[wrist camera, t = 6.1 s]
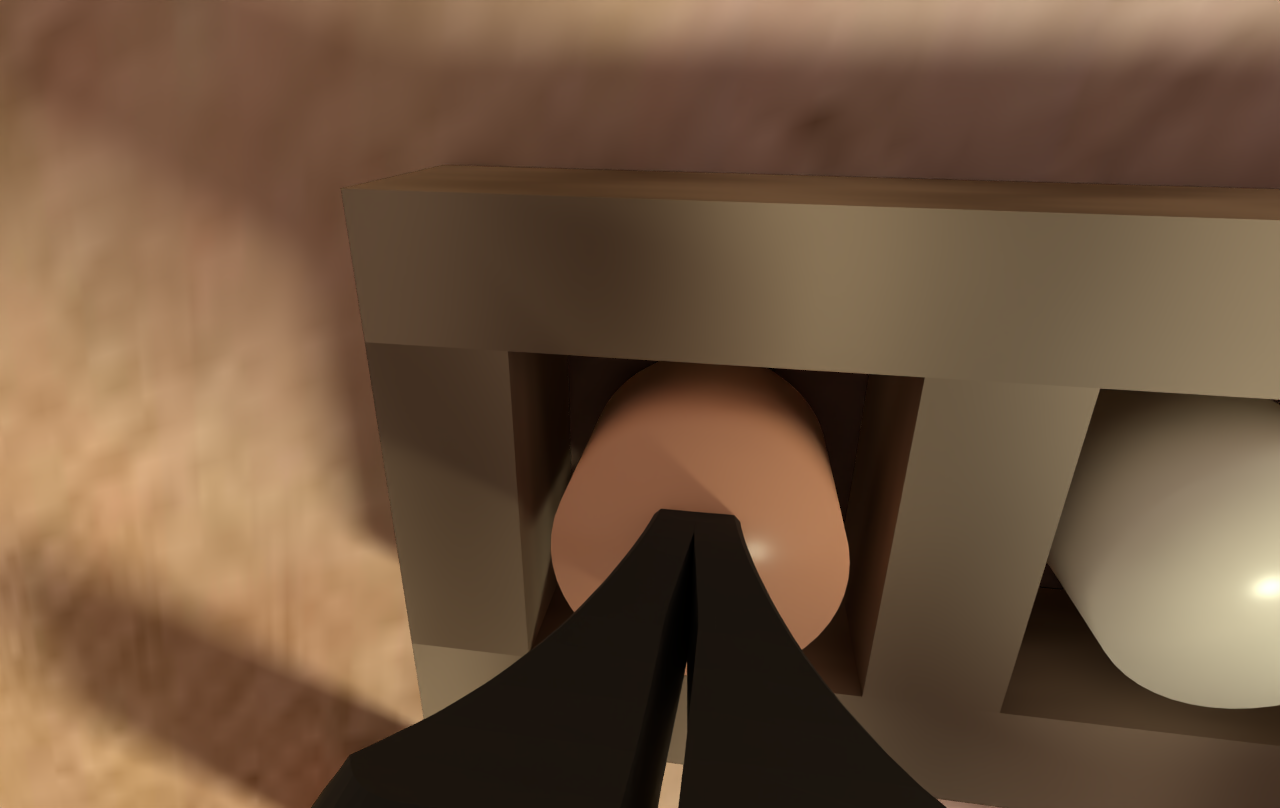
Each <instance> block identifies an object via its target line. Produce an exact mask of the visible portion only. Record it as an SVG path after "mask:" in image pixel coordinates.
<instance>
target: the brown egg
mask: <svg viewBox="0 0 1280 808" xmlns="http://www.w3.org/2000/svg"><path fill="white" fill-rule="evenodd" d="M660 509H671V510H682V511H693V512H704V513H716V514H728V515H735V516H736V517H737V519H738V520H739V521H740V522H741V528H742V532H743V535H744V539H745V542H746V544H747V547H748V550H749V552H750V555H751V557H752V560H753V562H754V565H755V567H756V569H757V571H758V573H759V576H760V578H761V580H762V582H763V584H764V586H765V588H766V590H767V592H768V594H769V595H770V597H771V599H772V601H773V603H774V605H775V607H776V609H777V610H778V612H779V614H780V616H781V617H782V619H783V621H784V622H785V624H786V626H787V627H788V629H789V631H790V632H791V634H792V636H793V637H794V639H795V640H796V642H797V643H798V645H799V646H800V648H801V649H803V648H805V647H806V646H807V645H808V644H810V643H811V642H812V641H813V640H814V639H815V638H816V637H818V636H819V635H820V633H821V632H822V631H823V630H824V629H825V628H826V626H827V625H828V624H829V623H830V621H831V620H832V618H833V617H834V615H835V613H836V612H837V610H838V608H839V606H840V604H841V601H842V599H843V597H844V594H845V590H846V586H847V582H848V578H849V566H850V559H849V546H848V541H847V537H846V532H845V528H844V523H843V519H842V514H841V510H840V505H839V501H838V496H837V492H836V488H835V483H834V479H833V474H832V470H831V465H830V461H829V456H828V452H827V447H826V443H825V439H824V435H823V431H822V429H821V426H820V424H819V421H818V419H817V417H816V415H815V414H814V412H813V410H812V409H811V407H810V405H809V404H808V403H807V401H806V400H805V399H804V398H803V396H802V395H801V394H800V393H799V392H798V391H797V390H796V389H795V388H794V387H793V386H792V385H791V384H790V383H788V382H787V381H786V380H784V379H783V378H782V377H780V376H779V375H777V374H776V373H774V372H772V371H771V370H769V369H767V368H765V367H751V366H735V365H719V364H704V363H688V362H672V361H660V362H658V363H655V364H653V365H650V366H649V367H647V368H645V369H643V370H642V371H640V372H638V373H637V374H635V375H634V376H633V377H631V378H630V379H629V380H627V381H626V382H625V383H624V384H623V385H622V386H621V387H620V388H619V389H618V390H617V391H616V392H615V393H614V394H613V396H612V397H611V398H610V400H609V401H608V402H607V404H606V406H605V408H604V409H603V411H602V413H601V415H600V417H599V419H598V421H597V423H596V426H595V428H594V430H593V432H592V434H591V436H590V439H589V441H588V443H587V445H586V447H585V449H584V452H583V454H582V456H581V458H580V460H579V462H578V465H577V467H576V469H575V471H574V473H573V475H572V478H571V480H570V482H569V484H568V486H567V488H566V491H565V493H564V495H563V497H562V499H561V501H560V504H559V506H558V509H557V512H556V515H555V518H554V522H553V527H552V533H551V555H552V563H553V568H554V572H555V575H556V579H557V582H558V584H559V586H560V589H561V591H562V593H563V595H564V597H565V599H566V600H567V602H568V604H569V605H570V607H571V609H572V610H573V611H574V612H575V611H576V610H577V609H578V608H579V607H580V606H581V605H582V604H583V603H584V602H585V601H586V600H587V599H588V598H589V597H590V596H591V594H592V593H593V592H594V591H595V590H596V589H597V588H598V587H599V586H600V585H601V584H602V583H603V582H604V581H605V580H606V578H607V577H608V576H609V575H610V574H611V573H612V571H613V570H614V569H615V568H616V566H617V565H618V564H619V563H620V562H621V560H622V559H623V558H624V557H625V556H626V554H627V553H628V552H629V551H630V549H631V548H632V546H633V545H634V544H635V542H636V541H637V540H638V538H639V537H640V536H641V534H642V533H643V531H644V530H645V528H646V527H647V525H648V524H649V522H650V520H651V519H652V517H653V515H654V514H655V513H656V512H657V511H659V510H660ZM684 675H687V664H686V669H685V674H684Z"/></svg>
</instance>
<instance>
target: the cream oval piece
mask: <svg viewBox="0 0 1280 808" xmlns="http://www.w3.org/2000/svg"><path fill="white" fill-rule="evenodd" d="M1047 563H1048V564H1049V566H1050V567H1051V569H1052V570H1053V572H1054V574H1055V575H1056V577H1057V578H1058V580H1059V581H1060V583H1061V585H1062V586H1063V588H1064V589H1065V591H1066V592H1067V594H1068V595H1069V597H1070V599H1071V600H1072V602H1073V603H1074V605H1075V606H1076V608H1077V609H1078V611H1079V613H1080V614H1081V616H1082V617H1083V619H1084V620H1085V622H1086V624H1087V625H1088V627H1089V628H1090V630H1091V631H1092V633H1093V634H1094V636H1095V638H1096V639H1097V641H1098V642H1099V644H1100V645H1101V647H1102V648H1103V650H1104V652H1105V653H1106V654H1107V656H1108V657H1109V658H1110V660H1111V661H1112V662H1113V664H1114V665H1115V666H1116V667H1117V668H1119V669H1120V670H1121V671H1122V672H1123V673H1124V674H1125V675H1126V676H1127V677H1129V678H1130V679H1132V680H1133V681H1135V682H1136V683H1137V684H1139V685H1141V686H1143V687H1144V688H1146V689H1148V690H1150V691H1152V692H1154V693H1156V694H1159V695H1162V696H1164V697H1167V698H1170V699H1172V700H1176V701H1180V702H1184V703H1188V704H1192V705H1199V706H1205V707H1213V708H1228V709H1241V708H1260V707H1269V706H1277V705H1280V405H1279V404H1278V403H1276V402H1274V401H1272V400H1271V399H1261V398H1246V397H1230V396H1214V395H1198V394H1182V393H1166V392H1150V391H1134V390H1118V389H1102V388H1101V389H1100V391H1099V394H1098V397H1097V400H1096V403H1095V407H1094V410H1093V413H1092V416H1091V420H1090V423H1089V426H1088V429H1087V433H1086V436H1085V439H1084V442H1083V445H1082V449H1081V452H1080V455H1079V458H1078V462H1077V465H1076V468H1075V471H1074V475H1073V478H1072V481H1071V484H1070V487H1069V491H1068V494H1067V497H1066V500H1065V504H1064V507H1063V510H1062V513H1061V517H1060V520H1059V523H1058V526H1057V530H1056V533H1055V536H1054V539H1053V542H1052V546H1051V549H1050V552H1049V555H1048V559H1047Z"/></svg>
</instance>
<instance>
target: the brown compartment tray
mask: <svg viewBox="0 0 1280 808" xmlns="http://www.w3.org/2000/svg"><path fill="white" fill-rule="evenodd" d="M341 193H342V199H343V206H344V212H345V218H346V225H347V231H348V237H349V244H350V250H351V257H352V263H353V269H354V276H355V282H356V289H357V295H358V301H359V308H360V314H361V321H362V327H363V333H364V340H365V346H366V352H367V359H368V365H369V372H370V378H371V384H372V391H373V397H374V404H375V410H376V416H377V423H378V429H379V436H380V442H381V448H382V455H383V461H384V468H385V474H386V480H387V487H388V493H389V499H390V506H391V512H392V519H393V525H394V531H395V538H396V544H397V551H398V557H399V563H400V570H401V576H402V583H403V589H404V595H405V602H406V608H407V614H408V621H409V627H410V634H411V640H412V646H413V653H414V659H415V666H416V672H417V678H418V685H419V691H420V698H421V704H422V710H423V717H424V719H426V718H427V717H429V716H431V715H433V714H435V713H437V712H438V711H440V710H442V709H444V708H445V707H447V706H449V705H451V704H452V703H454V702H456V701H457V700H459V699H461V698H462V697H464V696H466V695H467V694H469V693H470V692H472V691H474V690H475V689H477V688H479V687H480V686H482V685H483V684H485V683H486V682H488V681H489V680H491V679H492V678H494V677H495V676H497V675H498V674H500V673H501V672H502V671H504V670H505V669H507V668H508V667H509V666H511V665H512V664H513V663H514V662H516V661H517V660H518V659H520V658H521V657H522V656H524V655H525V654H526V653H528V652H529V651H530V650H532V649H533V648H534V647H535V646H537V645H538V644H539V643H540V642H542V641H543V640H544V639H545V638H546V637H547V636H549V635H550V634H551V633H552V632H553V631H554V630H556V629H557V628H558V627H559V626H560V625H561V624H562V623H563V622H564V621H566V620H567V619H568V618H569V617H570V616H571V615H572V614H573V613H574V611H573V610H572V609H571V607H570V605H569V604H568V602H567V600H566V599H565V597H564V595H563V593H562V591H561V589H560V586H559V584H558V582H557V579H556V575H555V572H554V568H553V563H552V555H551V533H552V527H553V522H554V518H555V515H556V512H557V509H558V506H559V504H560V501H561V499H562V497H563V495H564V493H565V491H566V488H567V486H568V484H569V482H570V480H571V448H570V416H569V383H568V355H576V356H592V357H608V358H624V359H640V360H656V361H672V362H688V363H704V364H719V365H735V366H751V367H767V368H783V369H799V370H815V371H831V372H847V373H863V374H869V377H868V383H867V389H866V396H865V402H864V408H863V414H862V421H861V427H860V433H859V439H858V446H857V452H856V458H855V464H854V471H853V477H852V483H851V489H850V496H849V502H848V508H847V514H846V521H845V527H844V528H845V532H846V537H847V541H848V546H849V559H850V566H849V578H848V582H847V586H846V590H845V594H844V597H843V599H842V601H841V604H840V606H839V608H838V610H837V612H836V613H835V615H834V617H833V618H832V620H831V621H830V623H829V624H828V625H827V626H826V628H825V629H824V630H823V631H822V632H821V633H820V635H819V636H818V637H816V638H815V639H814V640H813V641H812V642H811V643H810V644H808V645H807V646H806V647H805V648H803V649H802V651H803V652H804V654H805V655H806V657H807V658H808V660H809V661H810V662H811V664H812V665H813V666H814V668H815V669H816V671H817V672H818V673H819V675H820V676H821V677H822V679H823V680H824V681H825V683H826V684H827V685H828V686H829V688H830V689H831V690H832V692H833V693H834V694H835V695H836V697H837V698H838V699H839V700H840V702H841V703H842V704H843V705H844V706H845V708H846V709H847V710H848V711H849V712H850V713H851V714H852V716H853V717H854V718H855V719H856V720H857V721H858V722H859V723H860V724H861V725H862V726H863V728H864V729H865V730H866V731H867V732H868V733H869V734H870V735H871V736H872V737H873V739H874V740H875V741H876V742H877V743H878V744H879V745H880V746H881V747H882V748H883V750H884V751H885V752H886V753H887V754H888V755H889V756H890V757H891V758H892V759H893V760H894V761H895V762H896V763H897V764H898V765H899V766H900V767H902V768H903V769H904V770H905V771H906V772H907V773H908V774H909V775H910V776H911V777H912V778H913V779H914V780H915V781H916V782H917V783H918V784H919V785H920V786H922V787H923V788H924V789H925V790H926V791H927V792H929V793H930V794H931V795H932V796H933V797H934V798H936V799H943V800H951V801H958V802H965V803H973V804H980V805H988V806H995V807H1003V808H1280V705H1277V706H1269V707H1260V708H1241V709H1228V708H1213V707H1205V706H1199V705H1192V704H1188V703H1184V702H1180V701H1176V700H1172V699H1170V698H1167V697H1164V696H1162V695H1159V694H1156V693H1154V692H1152V691H1150V690H1148V689H1146V688H1144V687H1143V686H1141V685H1139V684H1137V683H1136V682H1135V681H1133V680H1132V679H1130V678H1129V677H1127V676H1126V675H1125V674H1124V673H1123V672H1122V671H1121V670H1120V669H1119V668H1117V667H1116V666H1115V665H1114V664H1113V662H1112V661H1111V660H1110V658H1109V657H1108V656H1107V654H1106V653H1105V652H1104V650H1103V648H1102V647H1101V645H1100V644H1099V642H1098V641H1097V639H1096V638H1095V636H1094V634H1093V633H1092V631H1091V630H1090V628H1089V627H1088V625H1087V624H1086V622H1085V620H1084V619H1083V617H1082V616H1081V614H1080V613H1079V611H1078V609H1077V608H1076V606H1075V605H1074V603H1073V602H1072V600H1071V599H1070V597H1069V595H1068V594H1067V592H1066V591H1065V590H1059V589H1049V588H1039V584H1040V581H1041V578H1042V575H1043V572H1044V568H1045V565H1046V562H1047V559H1048V555H1049V552H1050V549H1051V546H1052V542H1053V539H1054V536H1055V533H1056V530H1057V526H1058V523H1059V520H1060V517H1061V513H1062V510H1063V507H1064V504H1065V500H1066V497H1067V494H1068V491H1069V487H1070V484H1071V481H1072V478H1073V475H1074V471H1075V468H1076V465H1077V462H1078V458H1079V455H1080V452H1081V449H1082V445H1083V442H1084V439H1085V436H1086V433H1087V429H1088V426H1089V423H1090V420H1091V416H1092V413H1093V410H1094V407H1095V403H1096V400H1097V397H1098V394H1099V391H1100V388H1102V389H1118V390H1134V391H1150V392H1166V393H1182V394H1198V395H1214V396H1230V397H1246V398H1261V399H1277V400H1280V189H1260V188H1225V187H1190V186H1156V185H1121V184H1086V183H1052V182H1017V181H982V180H948V179H913V178H878V177H844V176H809V175H774V174H740V173H705V172H670V171H636V170H601V169H566V168H532V167H497V166H462V165H441V166H437V167H433V168H428V169H424V170H420V171H415V172H411V173H406V174H402V175H398V176H393V177H389V178H385V179H380V180H376V181H372V182H367V183H363V184H358V185H354V186H350V187H345V188H341ZM686 739H687V675H684V679H683V684H682V689H681V694H680V699H679V704H678V708H677V713H676V718H675V723H674V728H673V733H672V737H671V742H670V747H669V752H668V757H667V762H668V763H675V764H683V765H684V757H685V748H686Z"/></svg>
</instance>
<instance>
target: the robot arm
mask: <svg viewBox="0 0 1280 808" xmlns="http://www.w3.org/2000/svg"><path fill="white" fill-rule="evenodd" d="M686 664H687V739H686V748H685V757H684V765H683V774H682V782H681V790H680V799H679V807H678V808H946V807H945V806H944V805H943V804H942V803H940V802H939V801H938V800H937V799H936V798H934V797H933V796H932V795H931V794H930V793H929V792H927V791H926V790H925V789H924V788H923V787H922V786H920V785H919V784H918V783H917V782H916V781H915V780H914V779H913V778H912V777H911V776H910V775H909V774H908V773H907V772H906V771H905V770H904V769H903V768H902V767H900V766H899V765H898V764H897V763H896V762H895V761H894V760H893V759H892V758H891V757H890V756H889V755H888V754H887V753H886V752H885V751H884V750H883V748H882V747H881V746H880V745H879V744H878V743H877V742H876V741H875V740H874V739H873V737H872V736H871V735H870V734H869V733H868V732H867V731H866V730H865V729H864V728H863V726H862V725H861V724H860V723H859V722H858V721H857V720H856V719H855V718H854V717H853V716H852V714H851V713H850V712H849V711H848V710H847V709H846V708H845V706H844V705H843V704H842V703H841V702H840V700H839V699H838V698H837V697H836V695H835V694H834V693H833V692H832V690H831V689H830V688H829V686H828V685H827V684H826V683H825V681H824V680H823V679H822V677H821V676H820V675H819V673H818V672H817V671H816V669H815V668H814V666H813V665H812V664H811V662H810V661H809V660H808V658H807V657H806V655H805V654H804V652H803V651H802V649H801V648H800V646H799V645H798V643H797V642H796V640H795V639H794V637H793V636H792V634H791V632H790V631H789V629H788V627H787V626H786V624H785V622H784V621H783V619H782V617H781V616H780V614H779V612H778V610H777V609H776V607H775V605H774V603H773V601H772V599H771V597H770V595H769V594H768V592H767V590H766V588H765V586H764V584H763V582H762V580H761V578H760V576H759V573H758V571H757V569H756V567H755V565H754V562H753V560H752V557H751V555H750V552H749V550H748V547H747V544H746V542H745V539H744V535H743V532H742V528H741V522H740V521H739V520H738V519H737V517H736V516H735V515H728V514H716V513H704V512H693V511H682V510H671V509H660V510H659V511H657V512H656V513H655V514H654V515H653V517H652V519H651V520H650V522H649V524H648V525H647V527H646V528H645V530H644V531H643V533H642V534H641V536H640V537H639V538H638V540H637V541H636V542H635V544H634V545H633V546H632V548H631V549H630V551H629V552H628V553H627V554H626V556H625V557H624V558H623V559H622V560H621V562H620V563H619V564H618V565H617V566H616V568H615V569H614V570H613V571H612V573H611V574H610V575H609V576H608V577H607V578H606V580H605V581H604V582H603V583H602V584H601V585H600V586H599V587H598V588H597V589H596V590H595V591H594V592H593V593H592V594H591V596H590V597H589V598H588V599H587V600H586V601H585V602H584V603H583V604H582V605H581V606H580V607H579V608H578V609H577V610H576V611H575V612H574V613H573V614H572V615H571V616H570V617H569V618H568V619H567V620H566V621H564V622H563V623H562V624H561V625H560V626H559V627H558V628H557V629H556V630H554V631H553V632H552V633H551V634H550V635H549V636H547V637H546V638H545V639H544V640H543V641H542V642H540V643H539V644H538V645H537V646H535V647H534V648H533V649H532V650H530V651H529V652H528V653H526V654H525V655H524V656H522V657H521V658H520V659H518V660H517V661H516V662H514V663H513V664H512V665H511V666H509V667H508V668H507V669H505V670H504V671H502V672H501V673H500V674H498V675H497V676H495V677H494V678H492V679H491V680H489V681H488V682H486V683H485V684H483V685H482V686H480V687H479V688H477V689H475V690H474V691H472V692H470V693H469V694H467V695H466V696H464V697H462V698H461V699H459V700H457V701H456V702H454V703H452V704H451V705H449V706H447V707H445V708H444V709H442V710H440V711H438V712H437V713H435V714H433V715H431V716H429V717H427V718H426V719H424V720H422V721H420V722H418V723H416V724H414V725H412V726H410V727H408V728H406V729H404V730H402V731H400V732H397V733H395V734H393V735H391V736H389V737H387V738H385V739H383V740H381V741H379V742H377V743H375V744H373V745H371V746H369V747H367V748H364V749H362V750H360V751H358V752H355V753H353V754H351V755H350V756H349V757H348V758H347V760H346V761H345V763H344V764H343V765H342V767H341V768H340V770H339V771H338V772H337V774H336V775H335V776H334V777H333V779H332V780H331V781H330V782H329V784H328V785H327V786H326V787H325V789H324V790H323V791H322V793H321V794H320V796H319V797H318V799H317V800H316V801H315V803H314V804H313V806H312V807H311V808H658V804H659V798H660V791H661V786H662V781H663V776H664V771H665V766H666V762H667V757H668V752H669V747H670V742H671V737H672V733H673V728H674V723H675V718H676V713H677V708H678V704H679V699H680V694H681V689H682V684H683V679H684V674H685V669H686Z"/></svg>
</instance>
